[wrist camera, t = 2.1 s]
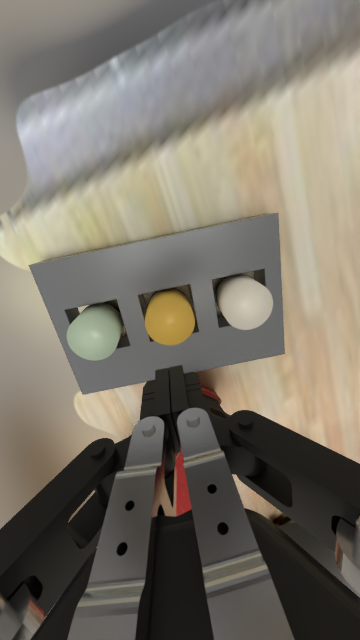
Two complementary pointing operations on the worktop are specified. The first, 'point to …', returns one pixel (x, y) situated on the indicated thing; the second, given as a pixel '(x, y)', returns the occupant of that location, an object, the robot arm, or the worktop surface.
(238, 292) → the button ivory
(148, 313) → the button amber
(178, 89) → the worktop surface
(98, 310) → the button sage
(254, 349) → the panel
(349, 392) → the worktop surface
